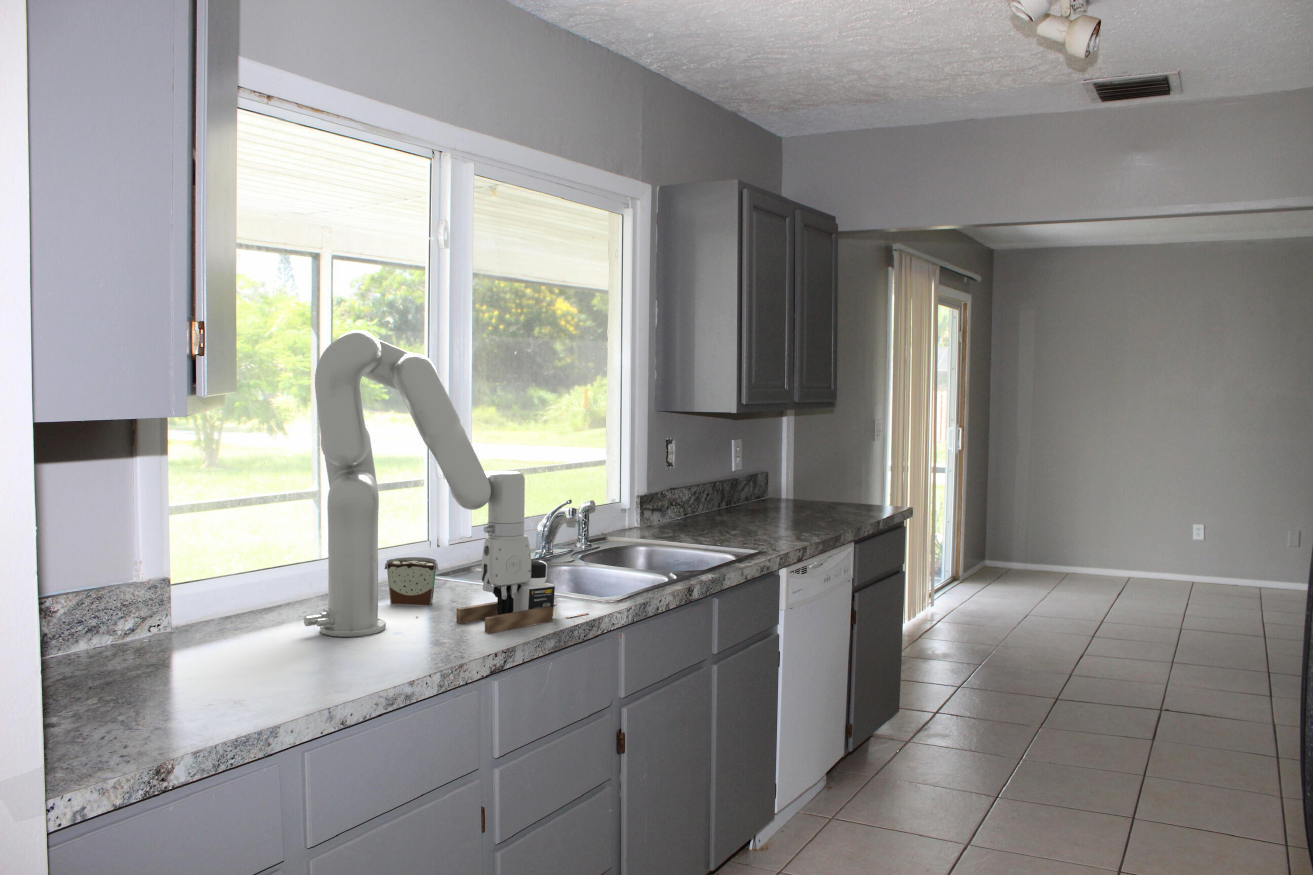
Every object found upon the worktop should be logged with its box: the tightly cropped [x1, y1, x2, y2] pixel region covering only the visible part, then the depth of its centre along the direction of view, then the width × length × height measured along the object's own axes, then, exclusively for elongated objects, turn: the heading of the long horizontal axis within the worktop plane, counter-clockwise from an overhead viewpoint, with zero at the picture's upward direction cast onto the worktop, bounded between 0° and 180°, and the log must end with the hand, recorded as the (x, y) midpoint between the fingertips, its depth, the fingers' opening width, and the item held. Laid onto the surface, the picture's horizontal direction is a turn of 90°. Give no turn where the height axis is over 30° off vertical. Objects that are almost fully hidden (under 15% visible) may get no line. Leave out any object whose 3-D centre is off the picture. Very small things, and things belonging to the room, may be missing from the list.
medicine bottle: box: [513, 559, 556, 612], centre depth 205 cm, size 7×7×12 cm
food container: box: [384, 556, 440, 607], centre depth 217 cm, size 12×6×10 cm, turn 84°
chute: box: [455, 601, 554, 635], centre depth 200 cm, size 16×12×3 cm
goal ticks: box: [554, 603, 590, 619], centre depth 211 cm, size 6×12×1 cm, turn 44°
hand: (505, 616), depth 200 cm, fingers closed
